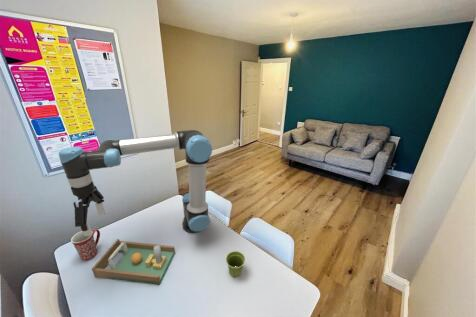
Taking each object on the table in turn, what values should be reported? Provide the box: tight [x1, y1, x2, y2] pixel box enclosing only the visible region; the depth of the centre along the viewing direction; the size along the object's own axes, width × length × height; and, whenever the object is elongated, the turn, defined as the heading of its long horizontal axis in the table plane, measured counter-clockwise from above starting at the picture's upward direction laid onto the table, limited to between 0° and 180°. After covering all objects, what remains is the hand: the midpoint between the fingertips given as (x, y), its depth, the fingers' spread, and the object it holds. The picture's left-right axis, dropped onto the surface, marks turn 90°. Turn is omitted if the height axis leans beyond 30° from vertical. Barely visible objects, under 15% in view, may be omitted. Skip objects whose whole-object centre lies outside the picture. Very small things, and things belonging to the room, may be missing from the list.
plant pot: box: [225, 250, 246, 278], centre depth 96 cm, size 9×9×9 cm
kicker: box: [145, 244, 166, 269], centre depth 96 cm, size 8×6×11 cm
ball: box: [131, 253, 142, 264], centre depth 98 cm, size 5×5×5 cm
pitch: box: [91, 239, 176, 286], centre depth 98 cm, size 32×18×9 cm, turn 84°
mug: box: [70, 228, 101, 261], centre depth 104 cm, size 13×9×14 cm
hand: (95, 224), depth 89 cm, fingers open, 13 cm apart
